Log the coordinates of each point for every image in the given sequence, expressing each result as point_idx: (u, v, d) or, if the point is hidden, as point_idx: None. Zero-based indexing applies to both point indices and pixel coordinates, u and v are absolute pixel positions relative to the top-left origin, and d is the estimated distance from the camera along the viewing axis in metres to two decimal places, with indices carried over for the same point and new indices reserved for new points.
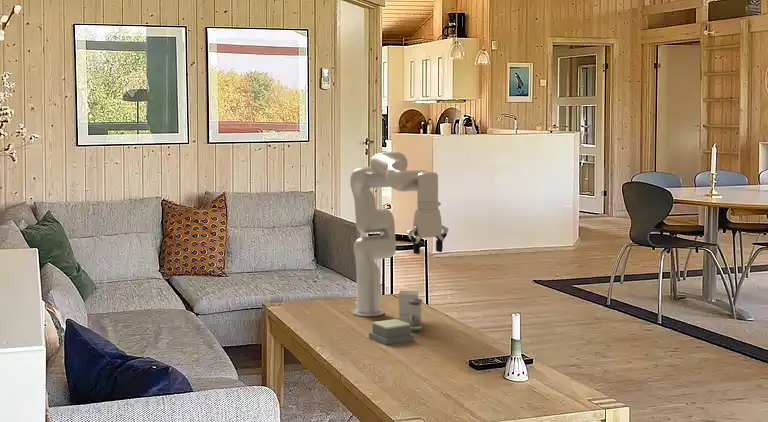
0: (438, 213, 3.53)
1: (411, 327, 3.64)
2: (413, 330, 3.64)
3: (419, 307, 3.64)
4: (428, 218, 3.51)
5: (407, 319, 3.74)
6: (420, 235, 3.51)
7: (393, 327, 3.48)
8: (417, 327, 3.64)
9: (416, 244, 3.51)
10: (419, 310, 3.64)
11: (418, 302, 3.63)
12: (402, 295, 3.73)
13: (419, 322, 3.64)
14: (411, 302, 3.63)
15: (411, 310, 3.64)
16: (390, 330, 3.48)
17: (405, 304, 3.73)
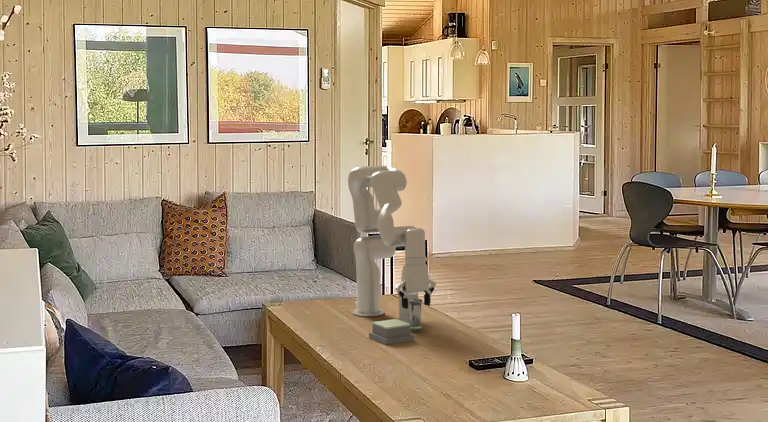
0: (425, 268, 3.63)
1: (411, 327, 3.64)
2: (413, 330, 3.64)
3: (419, 307, 3.64)
4: (416, 274, 3.61)
5: (407, 319, 3.74)
6: (408, 290, 3.60)
7: (393, 327, 3.48)
8: (417, 327, 3.64)
9: (404, 299, 3.61)
10: (419, 310, 3.64)
11: (418, 302, 3.63)
12: None
13: (419, 322, 3.64)
14: (411, 302, 3.63)
15: (411, 310, 3.64)
16: (390, 330, 3.48)
17: None
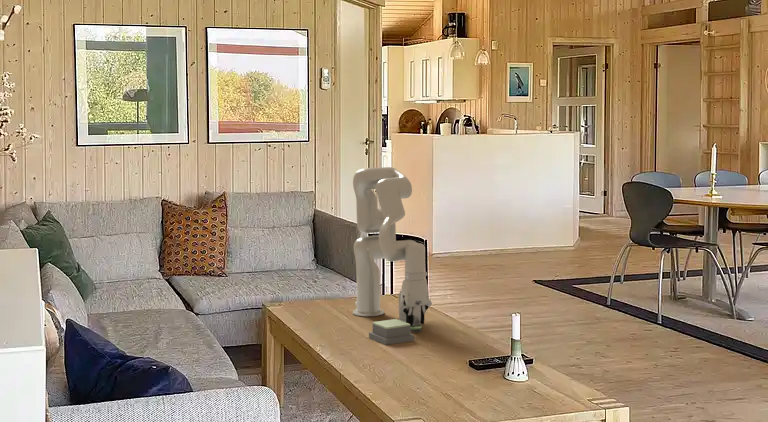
0: (425, 283, 3.64)
1: (411, 327, 3.64)
2: (413, 330, 3.64)
3: (419, 307, 3.64)
4: (415, 289, 3.62)
5: None
6: (407, 305, 3.61)
7: (393, 327, 3.48)
8: (417, 327, 3.64)
9: (409, 316, 3.63)
10: (419, 310, 3.64)
11: (418, 302, 3.63)
12: None
13: (419, 322, 3.64)
14: None
15: None
16: (390, 330, 3.48)
17: None
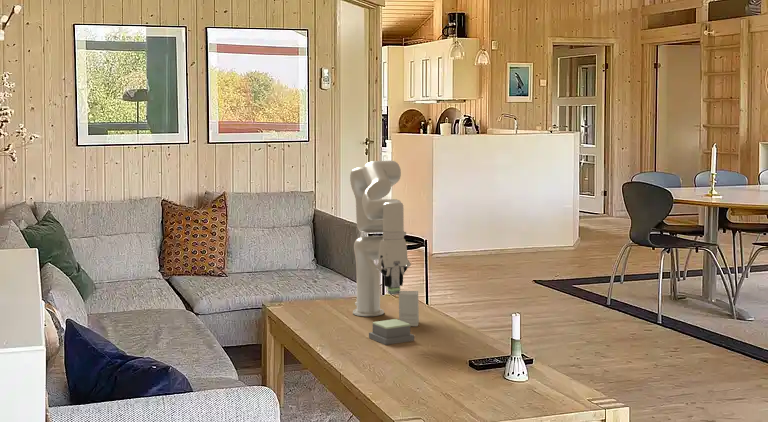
0: (404, 243, 3.51)
1: (389, 289, 3.51)
2: (391, 292, 3.51)
3: (398, 268, 3.51)
4: (393, 248, 3.49)
5: (407, 319, 3.74)
6: (385, 265, 3.48)
7: (393, 327, 3.48)
8: (396, 288, 3.51)
9: (387, 277, 3.50)
10: (398, 271, 3.51)
11: (397, 262, 3.50)
12: (402, 295, 3.73)
13: (398, 283, 3.51)
14: None
15: None
16: (390, 330, 3.48)
17: (405, 304, 3.73)
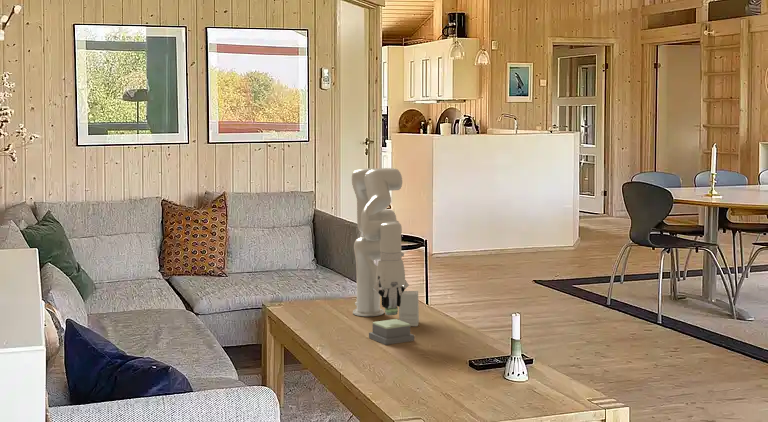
0: (401, 264, 3.51)
1: (387, 309, 3.51)
2: (389, 313, 3.51)
3: (395, 289, 3.50)
4: (391, 269, 3.48)
5: (407, 319, 3.74)
6: (383, 286, 3.48)
7: (393, 327, 3.48)
8: (393, 309, 3.51)
9: (384, 298, 3.50)
10: (395, 292, 3.51)
11: (394, 283, 3.49)
12: (402, 295, 3.73)
13: (395, 304, 3.51)
14: None
15: (387, 292, 3.50)
16: (390, 330, 3.48)
17: (405, 304, 3.73)
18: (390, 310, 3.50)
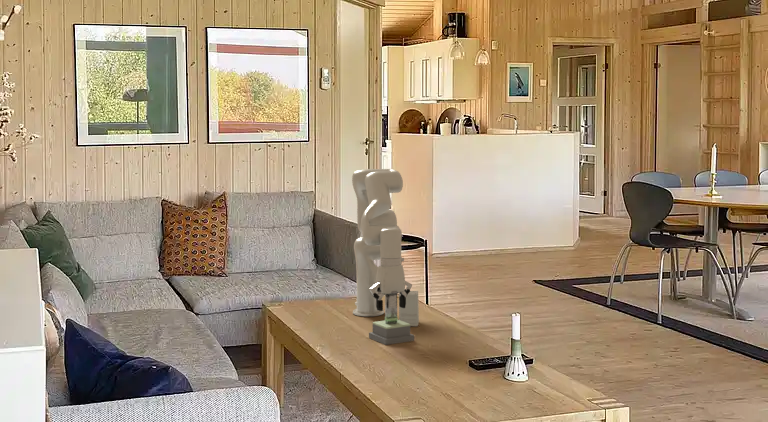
0: (401, 269, 3.51)
1: (387, 318, 3.52)
2: (389, 322, 3.51)
3: (395, 298, 3.51)
4: (391, 275, 3.49)
5: (407, 319, 3.74)
6: (383, 292, 3.48)
7: (393, 327, 3.48)
8: (393, 318, 3.51)
9: (379, 301, 3.49)
10: (395, 301, 3.51)
11: (394, 292, 3.50)
12: None
13: (395, 313, 3.52)
14: None
15: (387, 301, 3.51)
16: (390, 330, 3.48)
17: None
18: (390, 319, 3.51)
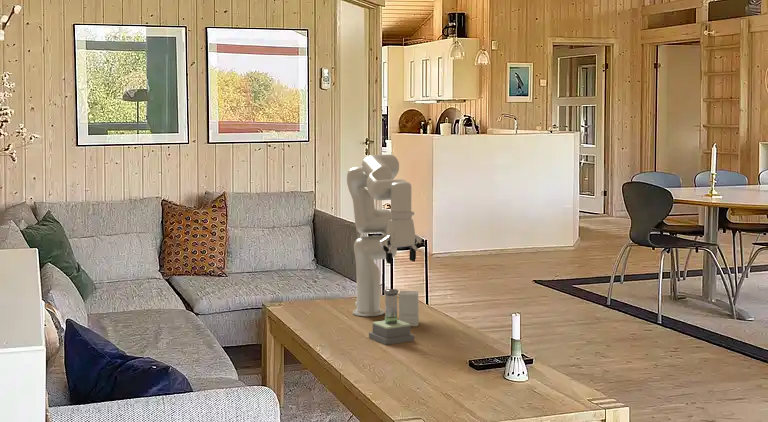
0: (411, 223, 3.55)
1: (387, 318, 3.52)
2: (389, 322, 3.51)
3: (395, 298, 3.51)
4: (401, 228, 3.53)
5: (407, 319, 3.74)
6: (393, 245, 3.53)
7: (393, 327, 3.48)
8: (393, 318, 3.51)
9: (389, 254, 3.53)
10: (395, 301, 3.51)
11: (394, 292, 3.50)
12: (402, 295, 3.73)
13: (395, 313, 3.52)
14: (387, 292, 3.50)
15: (387, 301, 3.51)
16: (390, 330, 3.48)
17: (405, 304, 3.73)
18: (390, 319, 3.51)
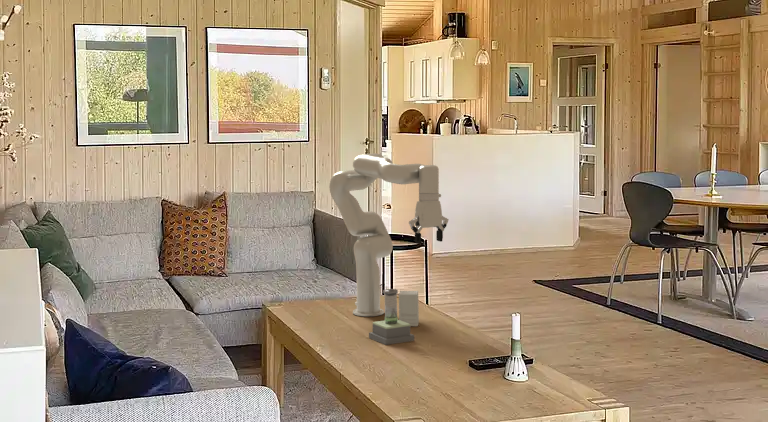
0: (438, 204, 3.71)
1: (387, 318, 3.52)
2: (389, 322, 3.51)
3: (395, 298, 3.51)
4: (429, 209, 3.69)
5: (407, 319, 3.74)
6: (421, 225, 3.68)
7: (393, 327, 3.48)
8: (393, 318, 3.51)
9: (417, 234, 3.69)
10: (395, 301, 3.51)
11: (393, 292, 3.50)
12: (402, 295, 3.73)
13: (395, 313, 3.52)
14: (386, 292, 3.50)
15: (386, 301, 3.51)
16: (390, 330, 3.48)
17: (405, 304, 3.73)
18: (390, 319, 3.51)
